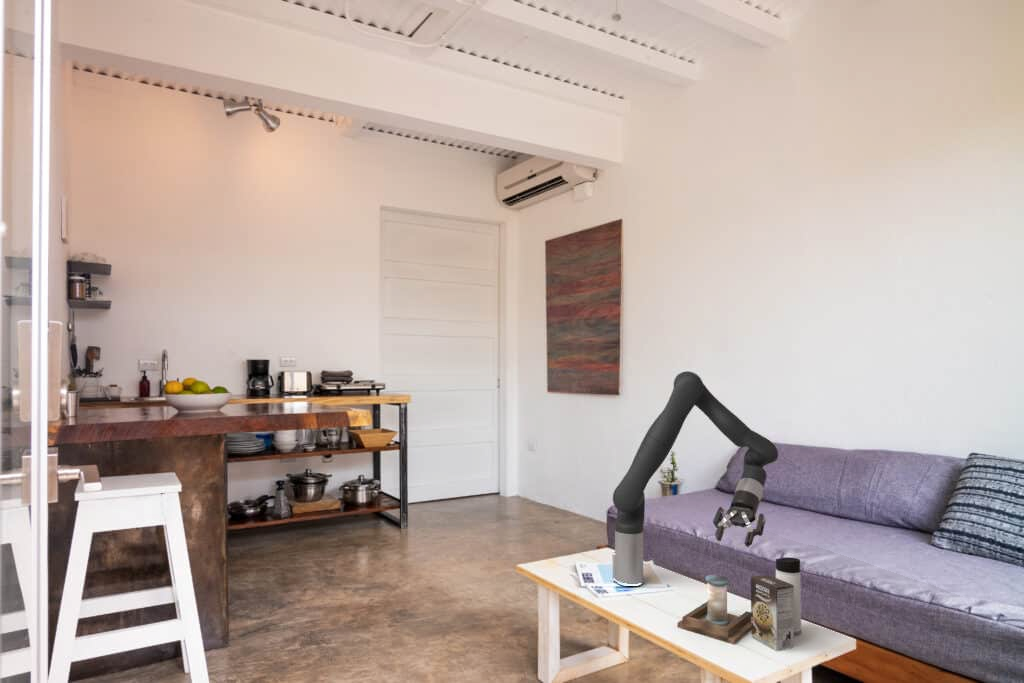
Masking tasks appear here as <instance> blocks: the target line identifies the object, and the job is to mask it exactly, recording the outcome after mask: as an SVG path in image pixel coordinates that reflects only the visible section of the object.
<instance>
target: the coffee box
mask: <svg viewBox="0 0 1024 683" xmlns="http://www.w3.org/2000/svg"><path fill="white" fill-rule="evenodd" d="M750 612H751V631H750V633H751V634H750V636H751V639H754V640H755V641H757V642H759V643H761V644H762V645H765V646H767V647H768V648H770V649H772V650H774V649H775V650H774V651H776V652H778V651H777V650H779V651H783V650H787V648H788V649H792V648H794V647H795V644H794V640H795V639H794V637H795V636H794V585H792V584H789V583H787V582H785V581H782V580H780V579H777V578H776V576H775V577H774V576H773V575H770V574H765V575H755V576H751V577H750ZM782 649H783V650H782Z"/></svg>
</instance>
